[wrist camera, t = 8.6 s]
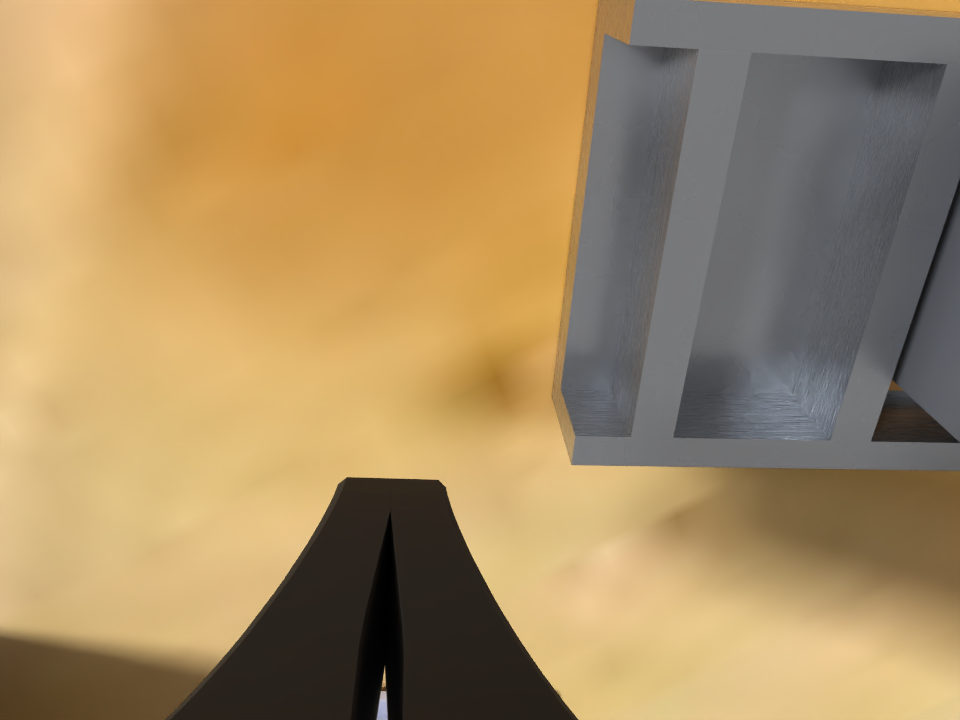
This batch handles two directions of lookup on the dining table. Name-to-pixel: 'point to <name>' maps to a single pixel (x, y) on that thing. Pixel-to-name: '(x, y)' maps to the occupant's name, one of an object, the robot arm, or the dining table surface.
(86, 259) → the dining table surface
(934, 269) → the block
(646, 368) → the rack
